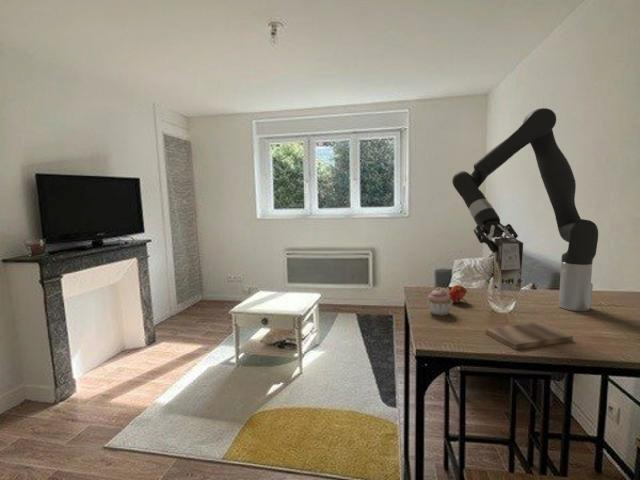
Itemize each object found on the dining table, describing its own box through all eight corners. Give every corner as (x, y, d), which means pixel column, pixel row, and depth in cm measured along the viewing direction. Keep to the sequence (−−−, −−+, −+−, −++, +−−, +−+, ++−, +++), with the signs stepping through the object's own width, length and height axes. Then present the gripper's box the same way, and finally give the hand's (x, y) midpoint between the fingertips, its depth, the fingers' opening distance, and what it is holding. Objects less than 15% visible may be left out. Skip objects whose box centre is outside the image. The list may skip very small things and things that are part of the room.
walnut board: (538, 326, 114) (538, 321, 114) (572, 340, 102) (573, 336, 102) (485, 333, 109) (485, 328, 109) (515, 349, 98) (515, 344, 97)
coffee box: (521, 291, 113) (524, 242, 110) (499, 291, 114) (501, 243, 111) (512, 282, 121) (514, 237, 118) (492, 282, 123) (494, 237, 120)
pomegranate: (464, 305, 143) (445, 289, 147) (476, 293, 139) (455, 277, 143) (459, 312, 138) (439, 295, 141) (472, 300, 134) (450, 283, 137)
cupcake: (422, 309, 133) (422, 284, 132) (446, 308, 134) (446, 283, 132) (431, 318, 124) (432, 290, 123) (457, 316, 124) (458, 289, 123)
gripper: (471, 208, 122) (493, 245, 113) (506, 206, 125) (530, 242, 116) (461, 222, 128) (482, 258, 118) (495, 220, 131) (517, 255, 122)
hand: (506, 250), depth 117 cm, fingers closed on coffee box, 7 cm apart
